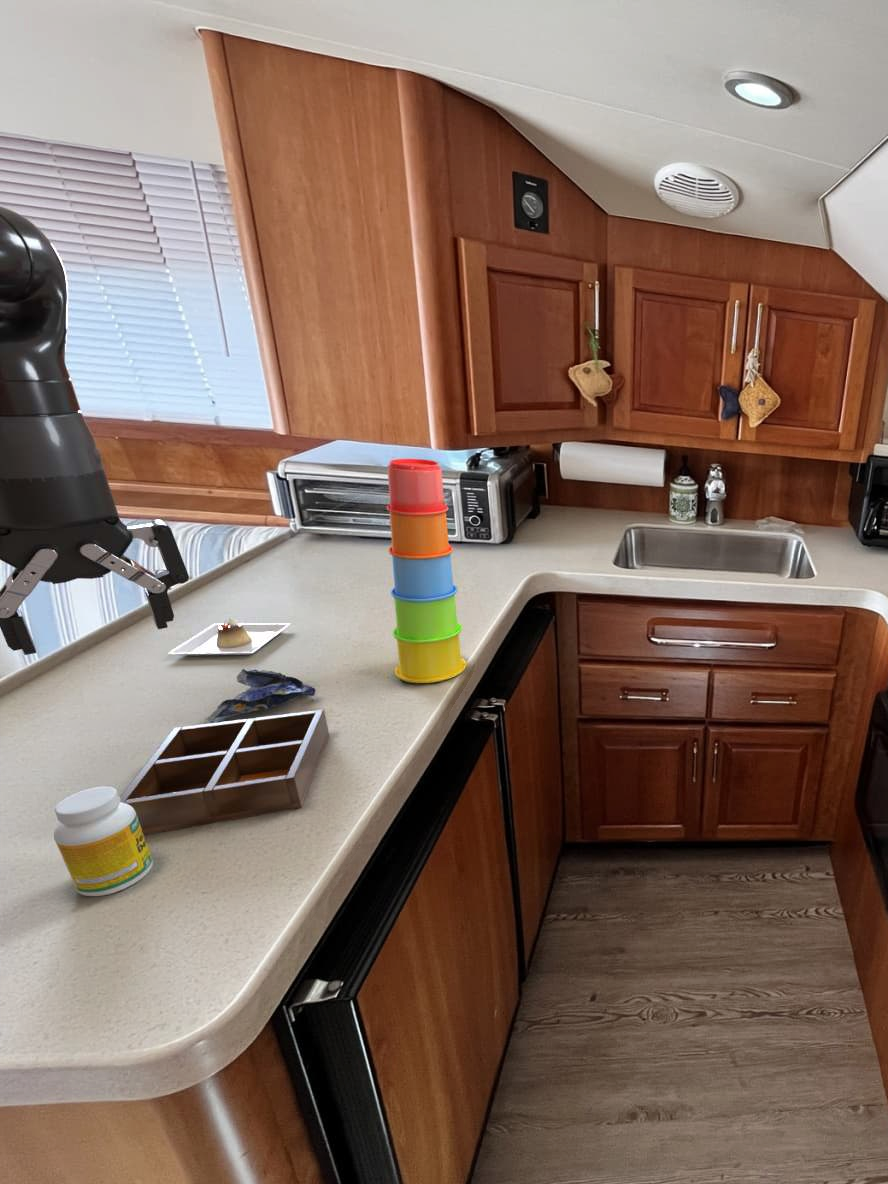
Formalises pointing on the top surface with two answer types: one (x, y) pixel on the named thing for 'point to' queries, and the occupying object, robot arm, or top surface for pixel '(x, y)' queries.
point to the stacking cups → (422, 574)
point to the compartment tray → (228, 771)
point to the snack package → (262, 693)
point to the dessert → (230, 639)
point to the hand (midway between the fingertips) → (99, 638)
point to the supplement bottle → (101, 841)
